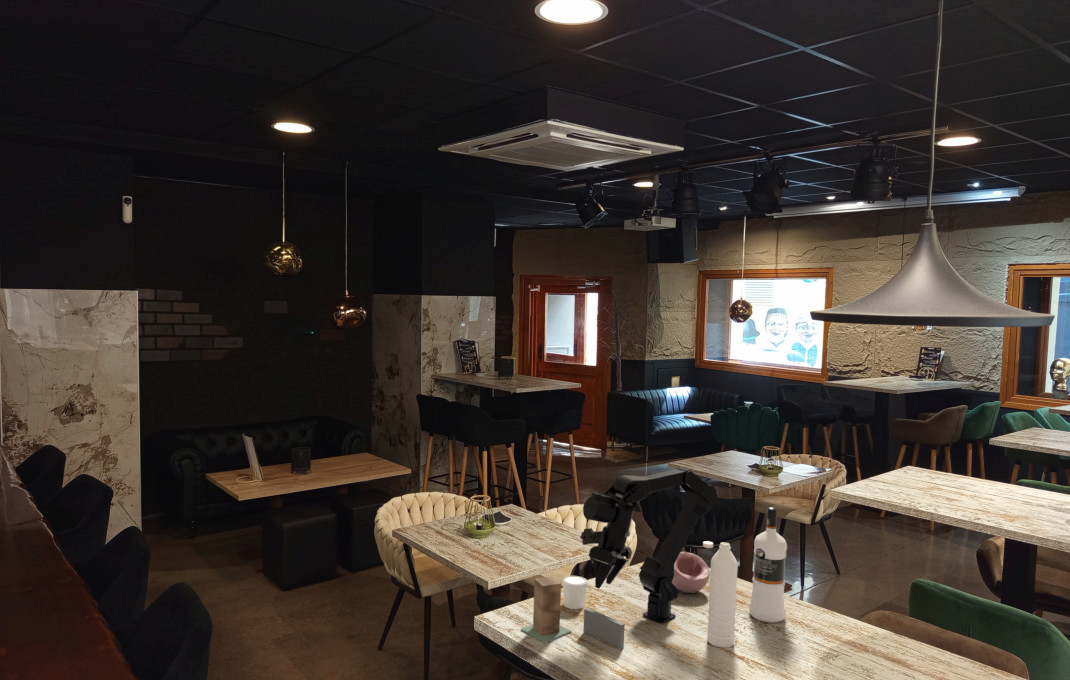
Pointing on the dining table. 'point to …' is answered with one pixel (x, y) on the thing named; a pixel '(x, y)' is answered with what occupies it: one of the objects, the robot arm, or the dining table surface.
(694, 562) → the pink rounded bowl
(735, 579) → the water bottle
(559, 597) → the letter block
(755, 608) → the vodka
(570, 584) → the white short cylinder
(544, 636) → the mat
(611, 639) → the gray rectangular block
